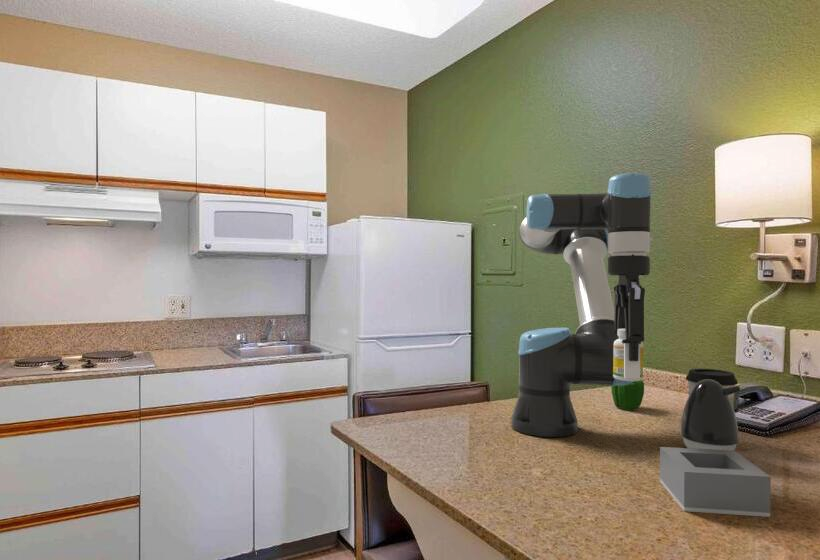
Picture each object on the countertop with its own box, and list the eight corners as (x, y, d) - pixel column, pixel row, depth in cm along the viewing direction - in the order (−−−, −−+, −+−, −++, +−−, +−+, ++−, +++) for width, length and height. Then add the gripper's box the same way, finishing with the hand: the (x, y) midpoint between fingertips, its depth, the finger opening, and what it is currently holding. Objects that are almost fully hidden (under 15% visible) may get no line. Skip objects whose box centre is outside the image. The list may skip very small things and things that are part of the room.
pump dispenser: (739, 468, 99) (740, 386, 99) (677, 457, 105) (678, 380, 105) (740, 452, 108) (740, 378, 108) (682, 444, 113) (683, 372, 113)
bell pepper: (615, 403, 150) (615, 367, 150) (646, 407, 145) (646, 370, 145) (606, 409, 143) (607, 372, 143) (639, 414, 138) (639, 375, 138)
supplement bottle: (619, 381, 100) (619, 330, 100) (608, 376, 106) (609, 328, 106) (647, 381, 100) (648, 331, 100) (636, 376, 106) (636, 328, 106)
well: (684, 511, 81) (684, 471, 81) (659, 481, 93) (660, 446, 93) (770, 516, 79) (770, 476, 79) (734, 485, 91) (734, 450, 91)
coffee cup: (745, 449, 110) (745, 377, 110) (693, 446, 112) (694, 375, 112) (726, 435, 119) (727, 369, 119) (679, 432, 121) (680, 367, 121)
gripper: (664, 253, 93) (663, 385, 93) (636, 256, 111) (635, 367, 112) (619, 253, 94) (618, 383, 95) (599, 256, 112) (598, 366, 113)
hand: (627, 374), depth 103 cm, fingers closed on supplement bottle, 5 cm apart
